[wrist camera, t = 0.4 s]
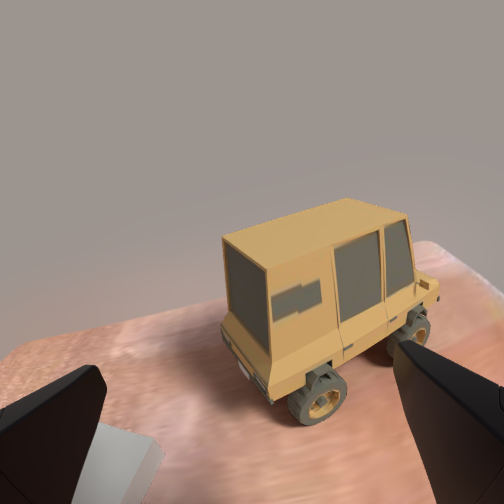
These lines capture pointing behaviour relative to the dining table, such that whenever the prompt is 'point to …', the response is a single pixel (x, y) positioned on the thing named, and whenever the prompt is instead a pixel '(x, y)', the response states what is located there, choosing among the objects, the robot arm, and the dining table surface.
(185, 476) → the dining table surface
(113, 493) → the grey block
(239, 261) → the toy car
